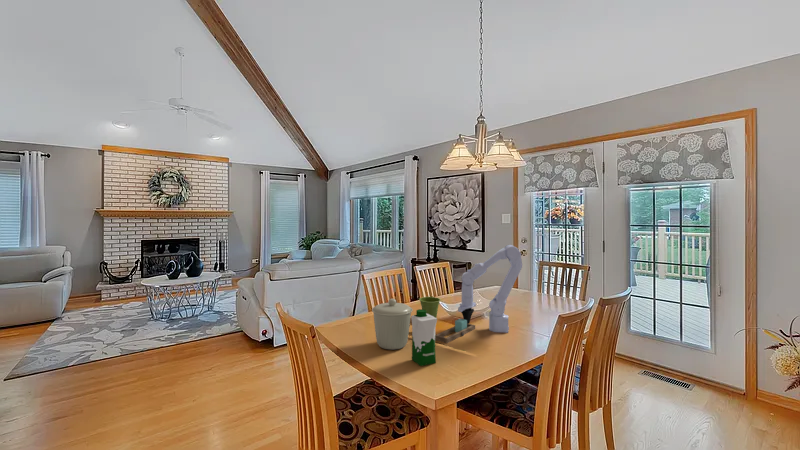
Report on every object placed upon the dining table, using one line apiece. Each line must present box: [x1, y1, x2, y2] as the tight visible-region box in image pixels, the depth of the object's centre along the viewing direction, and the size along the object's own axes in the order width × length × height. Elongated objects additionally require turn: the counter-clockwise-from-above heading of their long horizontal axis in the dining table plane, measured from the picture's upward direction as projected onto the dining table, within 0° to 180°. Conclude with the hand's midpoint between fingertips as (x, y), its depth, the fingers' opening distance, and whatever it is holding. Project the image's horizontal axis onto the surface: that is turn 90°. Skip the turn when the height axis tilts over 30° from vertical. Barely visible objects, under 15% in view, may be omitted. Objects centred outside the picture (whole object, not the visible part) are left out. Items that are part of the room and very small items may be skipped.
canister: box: [371, 298, 414, 351], centre depth 161 cm, size 18×18×21 cm
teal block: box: [454, 318, 467, 333], centre depth 178 cm, size 5×4×6 cm
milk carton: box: [410, 308, 438, 367], centre depth 145 cm, size 9×9×20 cm
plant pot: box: [418, 296, 442, 318], centre depth 202 cm, size 12×12×11 cm
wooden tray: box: [435, 323, 476, 346], centre depth 174 cm, size 26×8×3 cm, turn 140°
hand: (467, 323), depth 183 cm, fingers closed
